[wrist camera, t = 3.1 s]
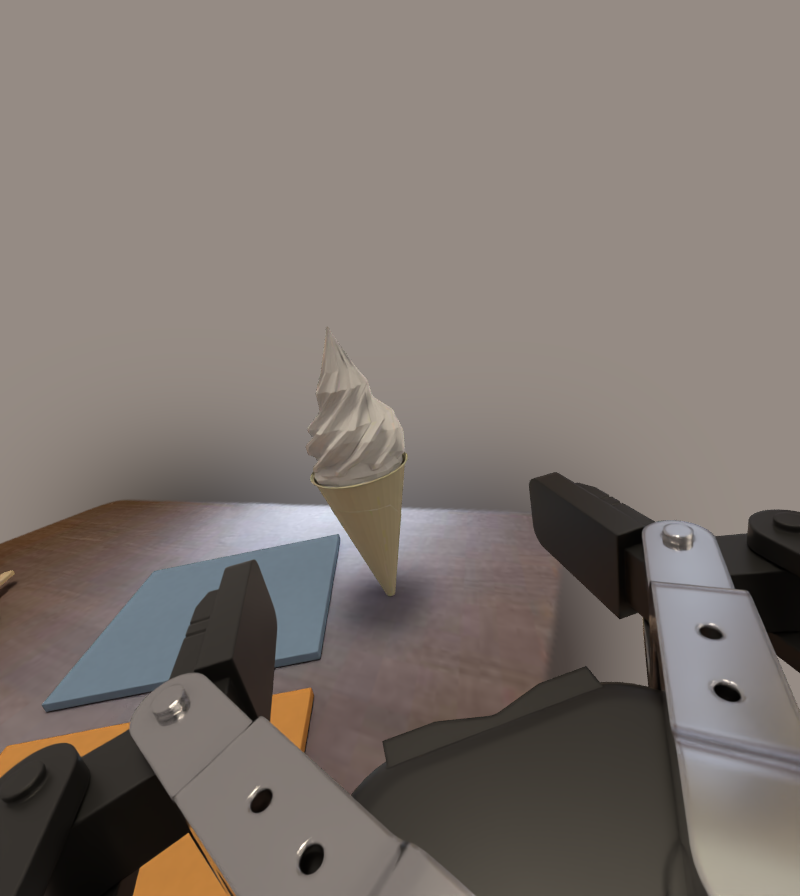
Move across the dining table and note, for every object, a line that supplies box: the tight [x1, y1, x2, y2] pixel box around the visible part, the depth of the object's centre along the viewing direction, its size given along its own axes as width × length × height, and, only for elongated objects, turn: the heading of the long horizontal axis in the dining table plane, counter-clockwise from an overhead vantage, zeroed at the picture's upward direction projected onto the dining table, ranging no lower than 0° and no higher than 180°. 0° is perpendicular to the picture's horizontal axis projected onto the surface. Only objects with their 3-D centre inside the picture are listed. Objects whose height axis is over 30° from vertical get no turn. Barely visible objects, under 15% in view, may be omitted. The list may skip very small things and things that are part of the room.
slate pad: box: [42, 534, 340, 712], centre depth 26 cm, size 14×11×1 cm
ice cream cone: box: [306, 327, 407, 596], centre depth 22 cm, size 5×5×15 cm
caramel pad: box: [0, 688, 314, 896], centre depth 14 cm, size 14×11×1 cm
